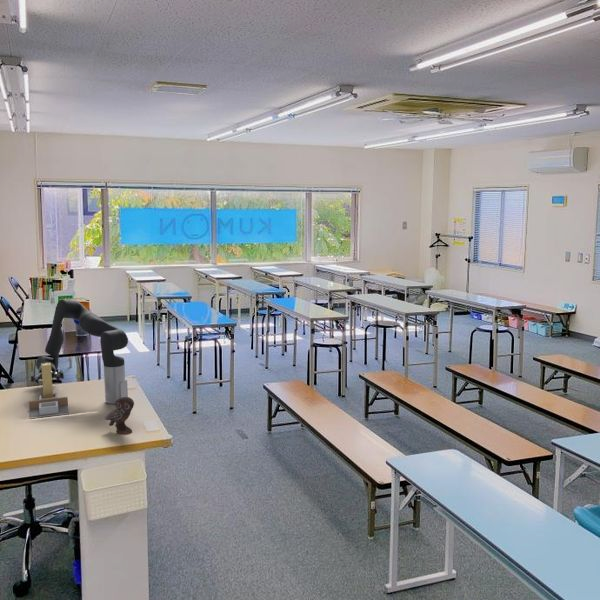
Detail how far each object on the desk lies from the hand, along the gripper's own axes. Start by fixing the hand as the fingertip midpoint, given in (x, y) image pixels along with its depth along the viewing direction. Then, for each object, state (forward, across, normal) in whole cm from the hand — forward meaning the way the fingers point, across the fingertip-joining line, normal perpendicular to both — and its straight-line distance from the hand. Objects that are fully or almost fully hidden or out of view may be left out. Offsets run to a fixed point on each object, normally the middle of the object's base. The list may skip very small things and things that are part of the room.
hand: (47, 379), depth 289 cm
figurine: (+53, +26, +11) cm, 60 cm away
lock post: (+4, 0, +10) cm, 10 cm away
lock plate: (+10, 0, +10) cm, 15 cm away
